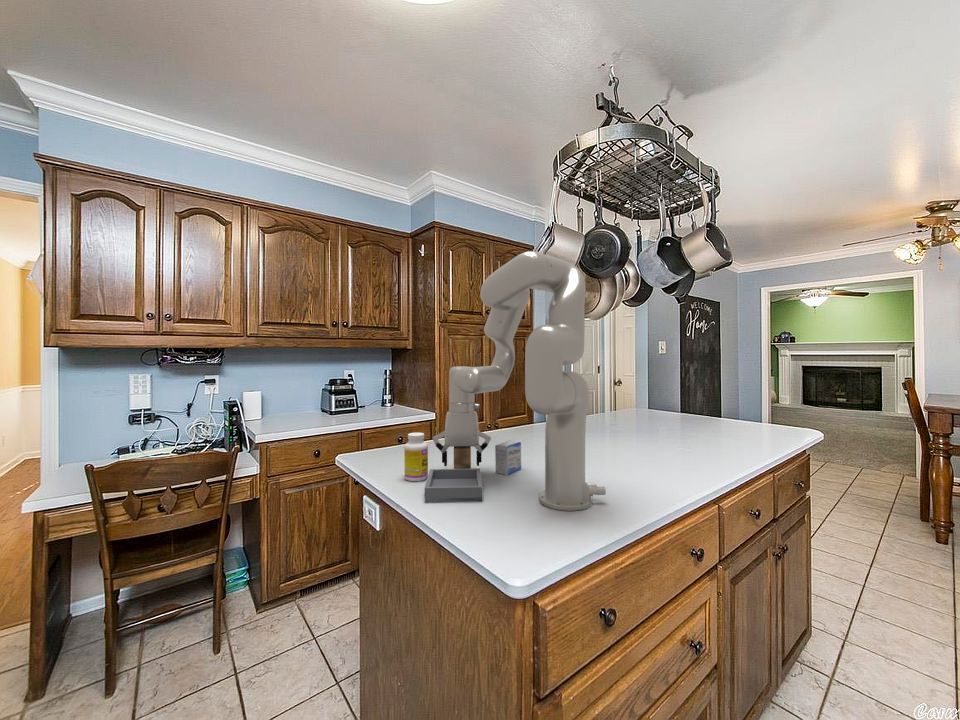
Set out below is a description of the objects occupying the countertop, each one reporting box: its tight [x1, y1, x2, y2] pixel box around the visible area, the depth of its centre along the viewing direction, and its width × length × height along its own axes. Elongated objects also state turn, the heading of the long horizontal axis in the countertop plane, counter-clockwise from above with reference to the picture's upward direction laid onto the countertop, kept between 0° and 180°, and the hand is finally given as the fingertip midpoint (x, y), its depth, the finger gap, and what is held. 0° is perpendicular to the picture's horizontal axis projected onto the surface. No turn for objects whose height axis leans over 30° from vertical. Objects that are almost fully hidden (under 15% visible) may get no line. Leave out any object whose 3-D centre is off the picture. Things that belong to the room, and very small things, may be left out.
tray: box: [424, 467, 483, 504], centre depth 108 cm, size 14×16×4 cm
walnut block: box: [453, 446, 472, 469], centre depth 123 cm, size 5×5×8 cm
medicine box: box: [494, 439, 522, 476], centre depth 125 cm, size 8×4×9 cm, turn 143°
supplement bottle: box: [403, 432, 429, 482], centre depth 119 cm, size 7×7×13 cm
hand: (461, 464), depth 123 cm, fingers open, 9 cm apart
